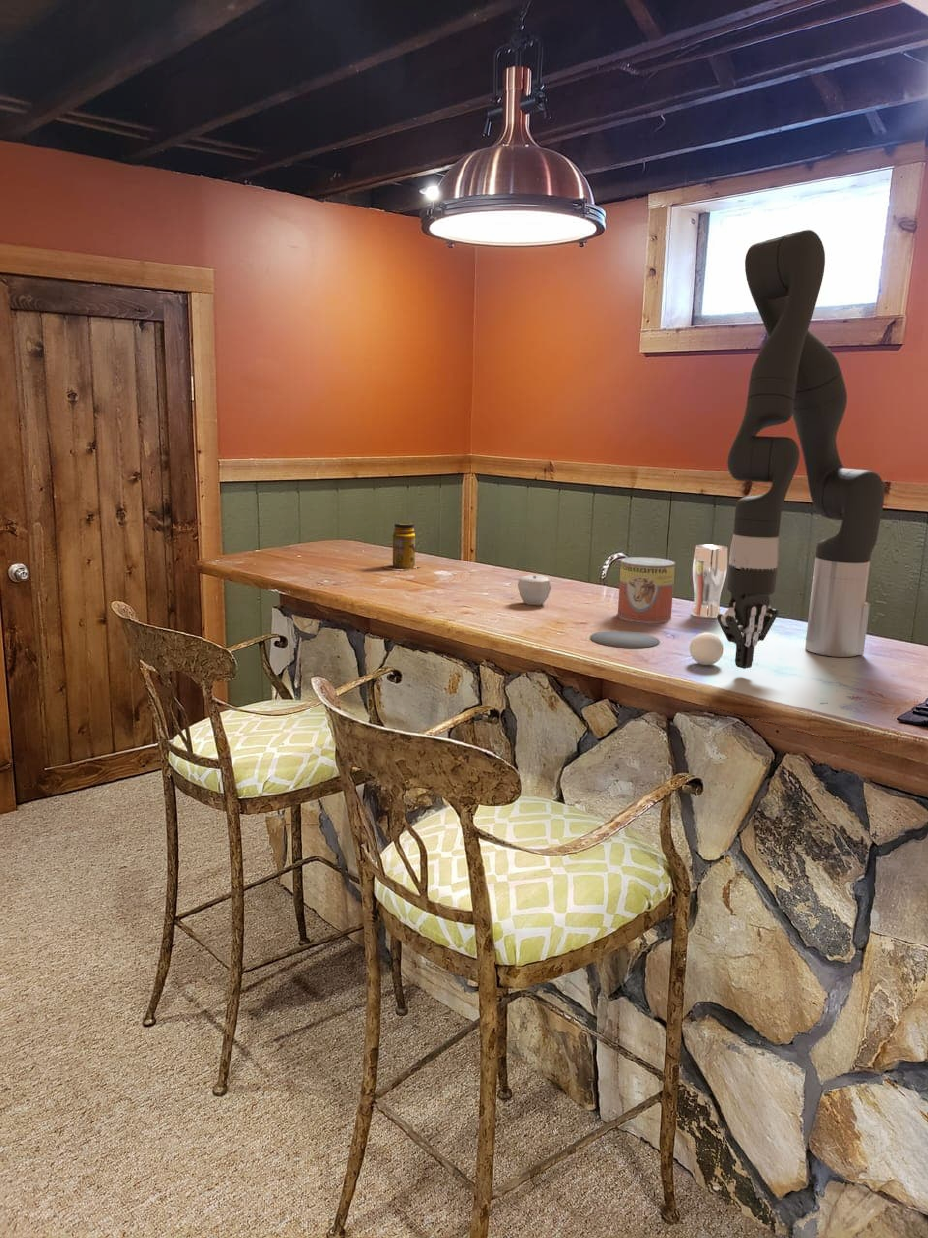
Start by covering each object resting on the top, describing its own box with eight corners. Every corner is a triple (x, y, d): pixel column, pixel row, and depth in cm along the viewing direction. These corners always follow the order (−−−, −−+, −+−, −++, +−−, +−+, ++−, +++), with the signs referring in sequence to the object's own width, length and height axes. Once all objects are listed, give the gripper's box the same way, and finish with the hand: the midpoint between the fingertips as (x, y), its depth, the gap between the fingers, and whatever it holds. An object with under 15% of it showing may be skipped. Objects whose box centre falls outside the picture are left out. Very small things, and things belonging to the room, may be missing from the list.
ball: (715, 660, 160) (718, 629, 159) (726, 669, 155) (729, 637, 153) (684, 660, 160) (687, 629, 158) (694, 669, 154) (696, 636, 153)
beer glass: (697, 610, 202) (703, 543, 198) (727, 615, 197) (733, 546, 194) (683, 615, 196) (689, 546, 193) (713, 620, 192) (720, 549, 189)
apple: (510, 601, 207) (511, 572, 205) (541, 599, 209) (543, 571, 208) (524, 608, 199) (526, 579, 198) (557, 606, 202) (558, 577, 201)
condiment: (421, 568, 249) (422, 524, 246) (397, 571, 243) (398, 526, 240) (404, 564, 254) (404, 521, 251) (380, 567, 248) (380, 523, 245)
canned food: (612, 619, 191) (616, 562, 188) (622, 609, 201) (625, 555, 198) (667, 625, 187) (671, 567, 184) (674, 614, 197) (678, 559, 195)
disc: (649, 632, 180) (649, 631, 180) (667, 648, 167) (667, 647, 167) (584, 631, 179) (584, 630, 179) (597, 648, 167) (597, 646, 167)
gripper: (760, 557, 153) (750, 657, 157) (707, 562, 146) (698, 667, 150) (798, 563, 147) (787, 667, 151) (745, 569, 140) (735, 678, 144)
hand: (743, 667), depth 150 cm, fingers closed
